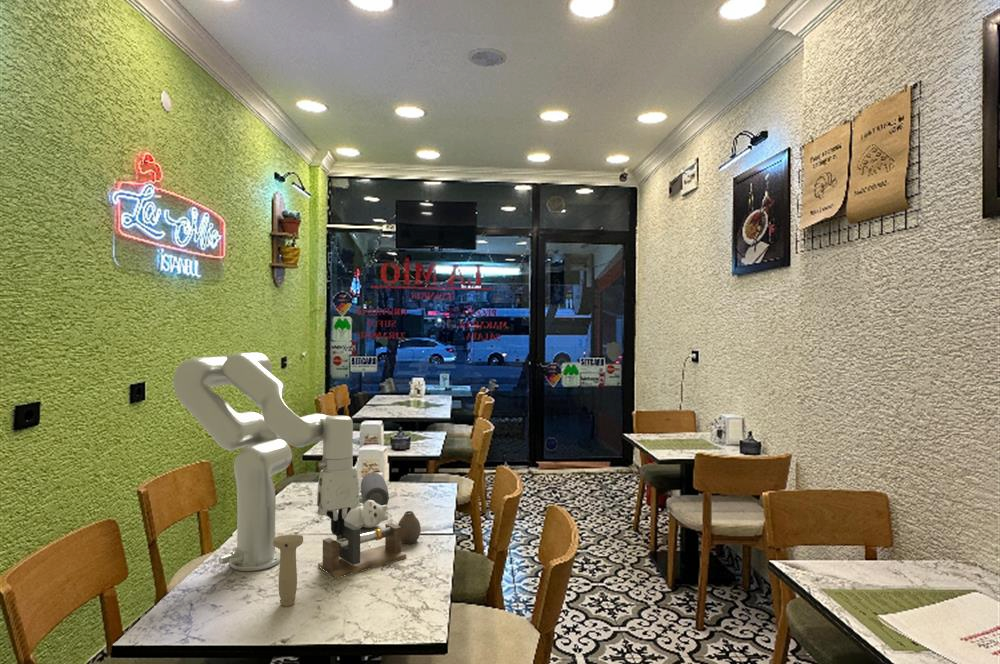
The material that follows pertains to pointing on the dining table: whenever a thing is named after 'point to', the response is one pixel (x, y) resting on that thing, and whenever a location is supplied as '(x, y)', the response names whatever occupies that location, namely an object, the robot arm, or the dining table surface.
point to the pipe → (368, 536)
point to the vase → (409, 528)
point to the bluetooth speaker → (374, 489)
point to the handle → (287, 567)
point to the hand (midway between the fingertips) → (337, 533)
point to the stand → (362, 555)
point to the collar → (350, 544)
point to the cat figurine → (367, 514)
